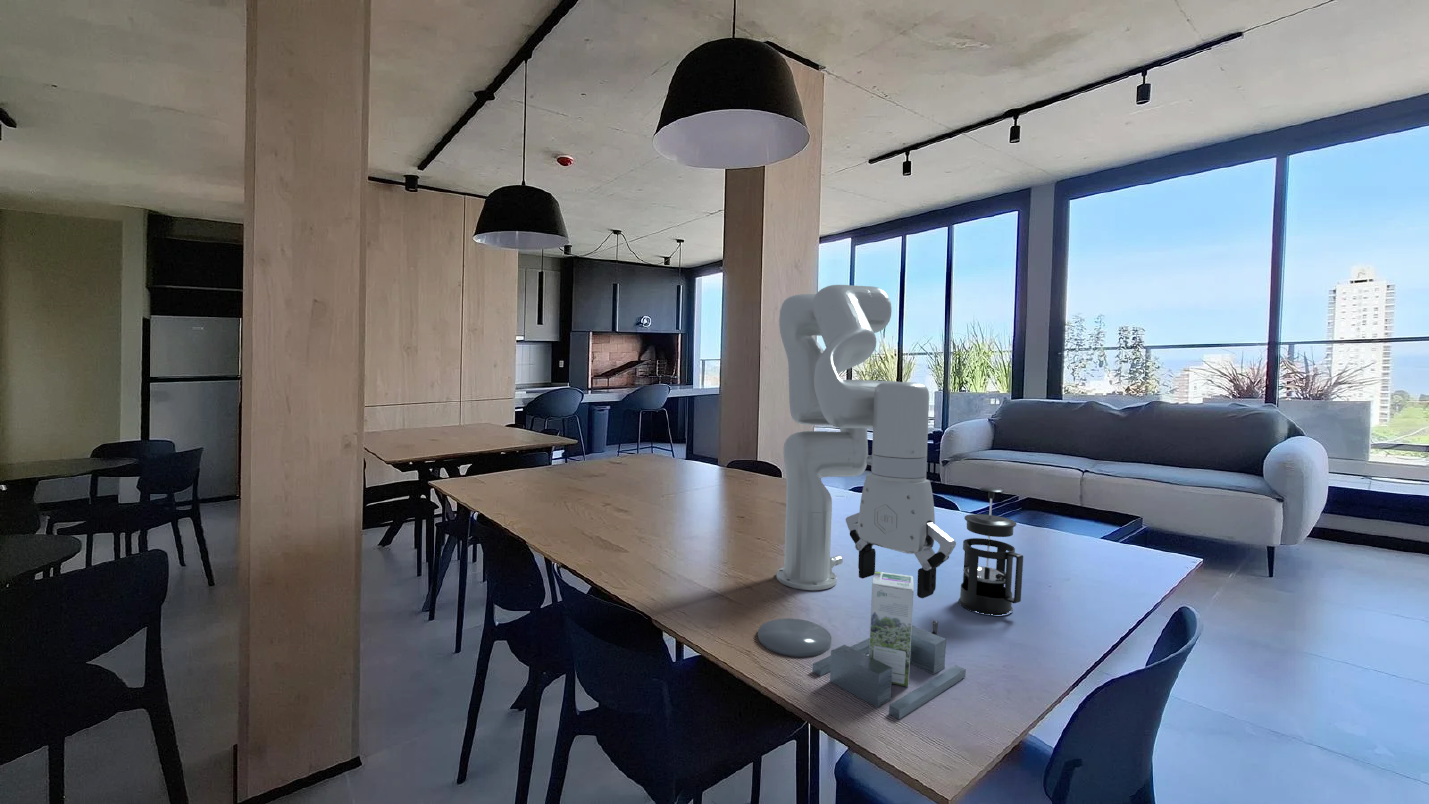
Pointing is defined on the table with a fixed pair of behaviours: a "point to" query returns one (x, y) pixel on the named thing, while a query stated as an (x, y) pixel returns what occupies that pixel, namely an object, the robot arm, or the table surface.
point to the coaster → (794, 637)
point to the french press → (986, 583)
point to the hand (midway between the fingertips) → (894, 585)
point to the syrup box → (892, 623)
